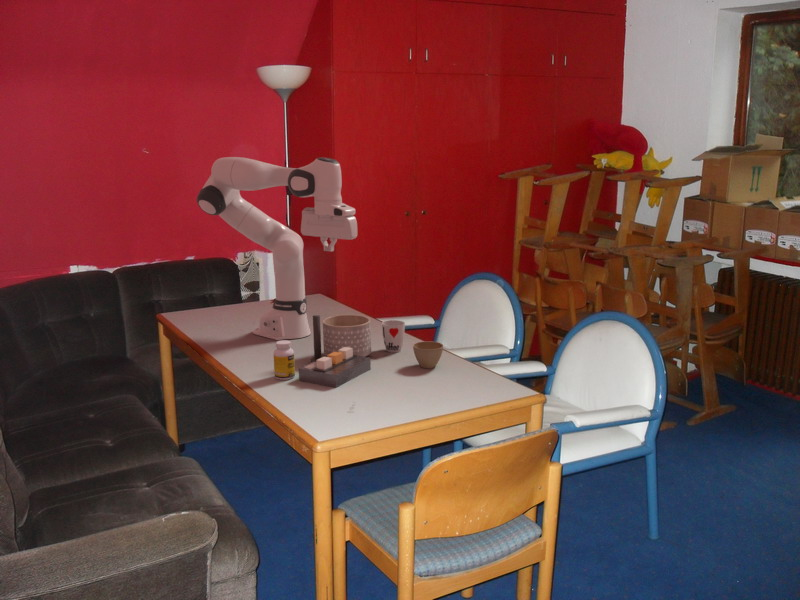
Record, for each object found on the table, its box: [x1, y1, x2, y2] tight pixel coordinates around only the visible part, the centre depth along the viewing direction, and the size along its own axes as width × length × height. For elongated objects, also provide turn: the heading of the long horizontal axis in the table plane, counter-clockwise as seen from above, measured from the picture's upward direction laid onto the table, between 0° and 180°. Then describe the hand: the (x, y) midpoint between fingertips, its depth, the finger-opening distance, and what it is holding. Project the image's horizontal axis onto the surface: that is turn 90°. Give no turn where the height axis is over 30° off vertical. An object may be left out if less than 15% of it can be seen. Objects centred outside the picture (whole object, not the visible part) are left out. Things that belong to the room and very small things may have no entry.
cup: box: [381, 319, 406, 353], centre depth 267 cm, size 8×8×10 cm
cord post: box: [310, 314, 323, 363], centre depth 254 cm, size 5×5×16 cm
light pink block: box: [316, 356, 332, 370], centre depth 236 cm, size 3×4×3 cm
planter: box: [322, 314, 372, 357], centre depth 261 cm, size 16×16×13 cm
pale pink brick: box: [338, 347, 353, 359], centre depth 246 cm, size 3×4×3 cm
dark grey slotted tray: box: [298, 355, 372, 388], centre depth 242 cm, size 14×20×4 cm
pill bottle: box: [273, 339, 296, 381], centre depth 239 cm, size 6×6×12 cm
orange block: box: [328, 352, 343, 364], centre depth 241 cm, size 3×4×3 cm
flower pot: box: [412, 340, 444, 369], centre depth 249 cm, size 10×10×7 cm
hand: (328, 250), depth 247 cm, fingers closed
